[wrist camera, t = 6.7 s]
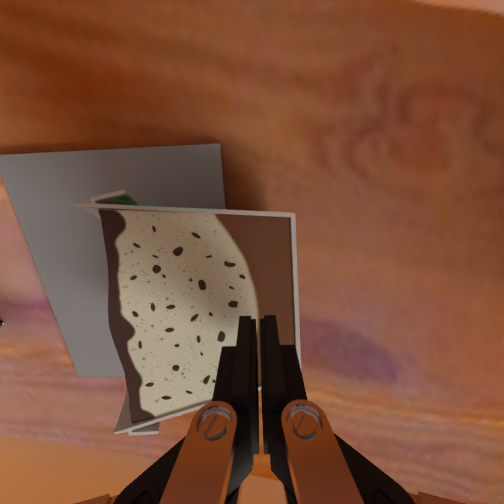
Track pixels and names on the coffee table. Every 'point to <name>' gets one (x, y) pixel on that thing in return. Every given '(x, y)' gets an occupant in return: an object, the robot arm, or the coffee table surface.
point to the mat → (97, 226)
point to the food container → (189, 296)
